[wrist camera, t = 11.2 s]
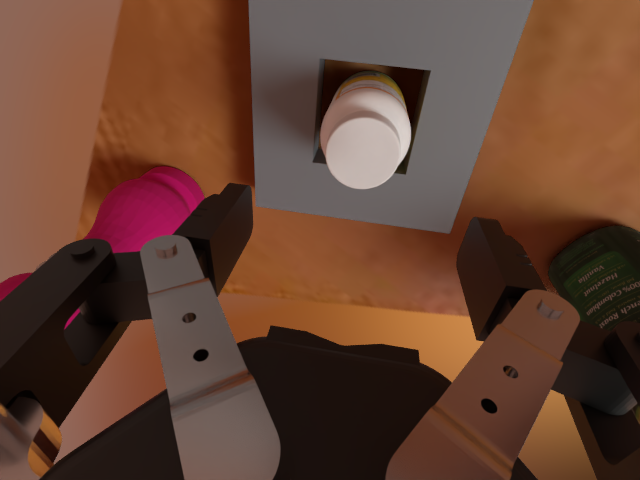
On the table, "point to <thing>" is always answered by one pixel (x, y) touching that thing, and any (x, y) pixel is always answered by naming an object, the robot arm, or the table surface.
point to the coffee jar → (601, 278)
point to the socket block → (390, 50)
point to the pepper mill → (137, 214)
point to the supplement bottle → (365, 130)
